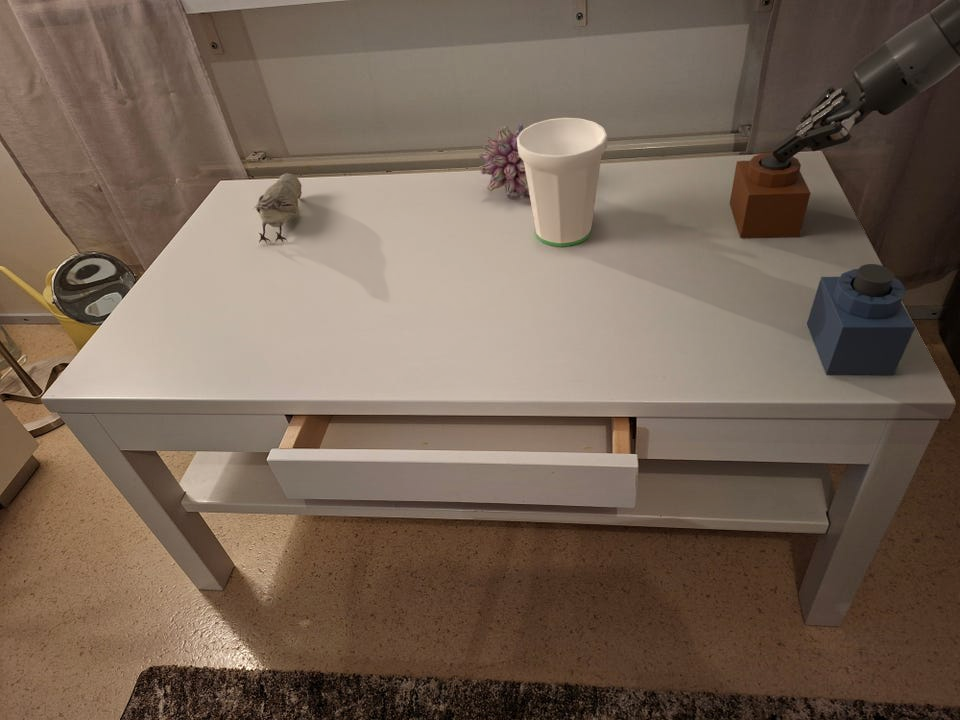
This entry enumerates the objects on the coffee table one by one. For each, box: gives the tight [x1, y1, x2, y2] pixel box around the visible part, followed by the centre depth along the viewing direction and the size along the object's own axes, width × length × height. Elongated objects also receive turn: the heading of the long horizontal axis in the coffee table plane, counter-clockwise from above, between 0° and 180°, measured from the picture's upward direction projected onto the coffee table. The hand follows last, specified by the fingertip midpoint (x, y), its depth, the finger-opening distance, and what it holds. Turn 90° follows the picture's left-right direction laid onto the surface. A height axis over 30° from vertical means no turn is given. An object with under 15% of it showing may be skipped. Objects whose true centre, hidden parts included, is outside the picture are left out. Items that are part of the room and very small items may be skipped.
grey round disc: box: [761, 155, 789, 170], centre depth 92 cm, size 4×4×2 cm
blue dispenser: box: [806, 268, 916, 376], centre depth 73 cm, size 9×7×9 cm
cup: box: [517, 117, 608, 247], centre depth 95 cm, size 12×12×15 cm
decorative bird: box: [252, 172, 302, 245], centre depth 109 cm, size 5×16×8 cm, turn 176°
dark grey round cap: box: [853, 263, 895, 297], centre depth 70 cm, size 3×3×2 cm
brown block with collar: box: [729, 152, 811, 239], centre depth 94 cm, size 10×8×9 cm
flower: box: [477, 122, 530, 199], centre depth 107 cm, size 12×12×12 cm
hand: (776, 156), depth 91 cm, fingers closed
